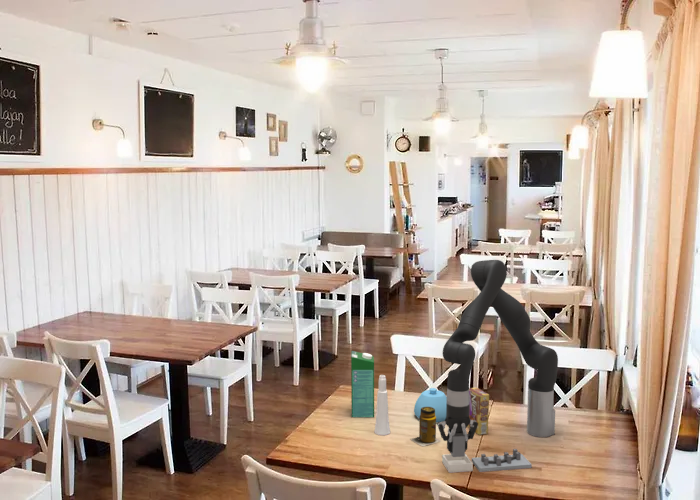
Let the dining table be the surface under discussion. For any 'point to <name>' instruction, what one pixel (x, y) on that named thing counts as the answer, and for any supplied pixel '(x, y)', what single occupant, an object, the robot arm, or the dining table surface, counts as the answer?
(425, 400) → the sugar bowl
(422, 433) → the condiment
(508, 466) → the board
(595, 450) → the dining table surface
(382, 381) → the cosmetic bottle
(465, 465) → the white square tray
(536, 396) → the robot arm
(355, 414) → the milk carton
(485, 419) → the candy box
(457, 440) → the block
